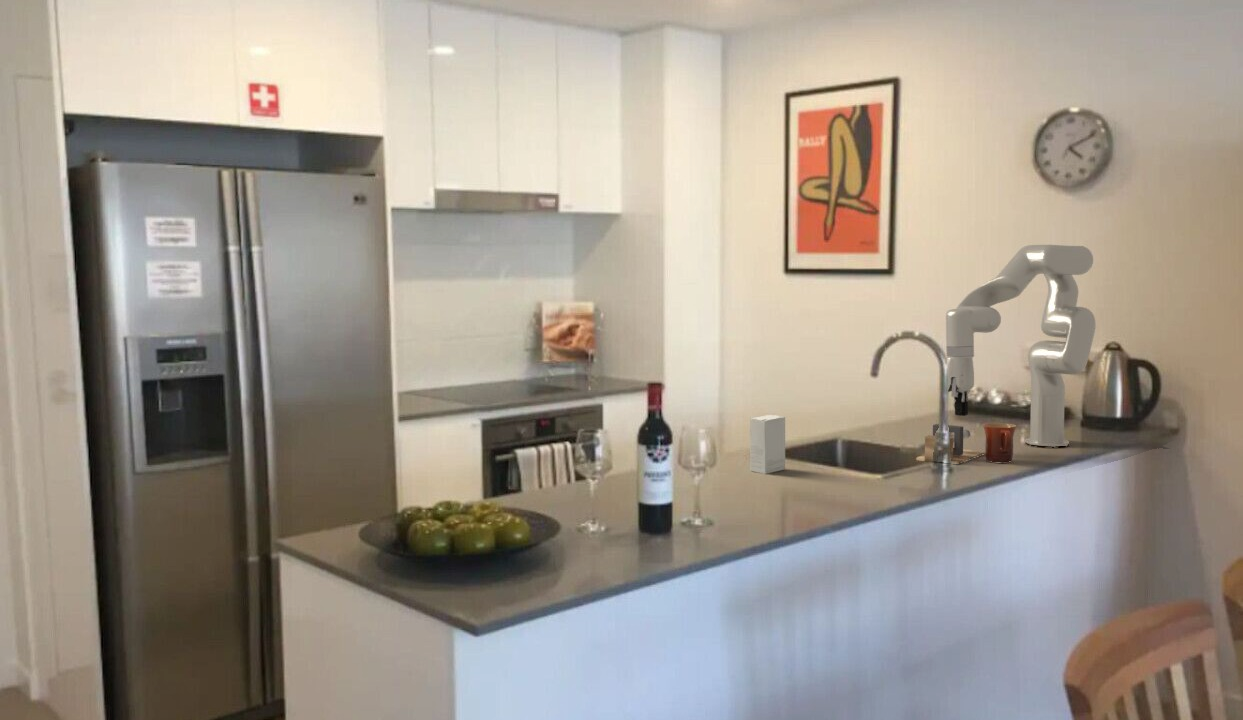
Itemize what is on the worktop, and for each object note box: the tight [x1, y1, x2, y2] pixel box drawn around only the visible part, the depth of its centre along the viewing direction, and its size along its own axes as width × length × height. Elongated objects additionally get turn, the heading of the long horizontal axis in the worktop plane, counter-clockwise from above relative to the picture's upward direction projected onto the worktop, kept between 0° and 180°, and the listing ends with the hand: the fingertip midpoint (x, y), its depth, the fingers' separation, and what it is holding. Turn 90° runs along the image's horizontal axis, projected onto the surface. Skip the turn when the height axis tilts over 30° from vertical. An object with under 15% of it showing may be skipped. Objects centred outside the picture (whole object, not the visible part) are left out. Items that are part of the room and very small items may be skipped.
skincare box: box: [749, 414, 786, 475], centre depth 285 cm, size 8×6×15 cm
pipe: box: [949, 429, 971, 443], centre depth 302 cm, size 18×3×3 cm, turn 139°
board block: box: [915, 434, 985, 464], centre depth 302 cm, size 20×12×7 cm, turn 139°
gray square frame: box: [932, 423, 964, 456], centre depth 299 cm, size 2×8×8 cm, turn 49°
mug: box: [982, 422, 1017, 463], centre depth 293 cm, size 12×9×10 cm
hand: (961, 414), depth 305 cm, fingers closed
